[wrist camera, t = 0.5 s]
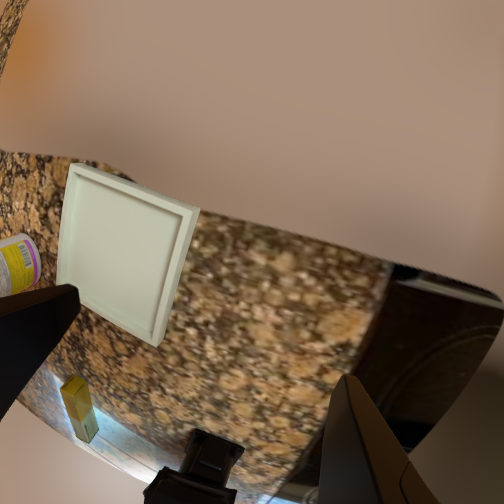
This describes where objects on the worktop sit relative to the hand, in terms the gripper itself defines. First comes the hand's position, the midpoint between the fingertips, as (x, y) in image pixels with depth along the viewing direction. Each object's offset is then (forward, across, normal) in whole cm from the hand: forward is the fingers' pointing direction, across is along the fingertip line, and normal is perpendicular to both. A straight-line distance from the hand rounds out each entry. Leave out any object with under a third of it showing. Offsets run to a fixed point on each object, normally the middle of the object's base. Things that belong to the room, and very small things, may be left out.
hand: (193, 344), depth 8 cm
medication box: (+12, +20, +32) cm, 40 cm away
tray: (+14, +13, +6) cm, 20 cm away
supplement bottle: (+14, +28, +11) cm, 33 cm away
